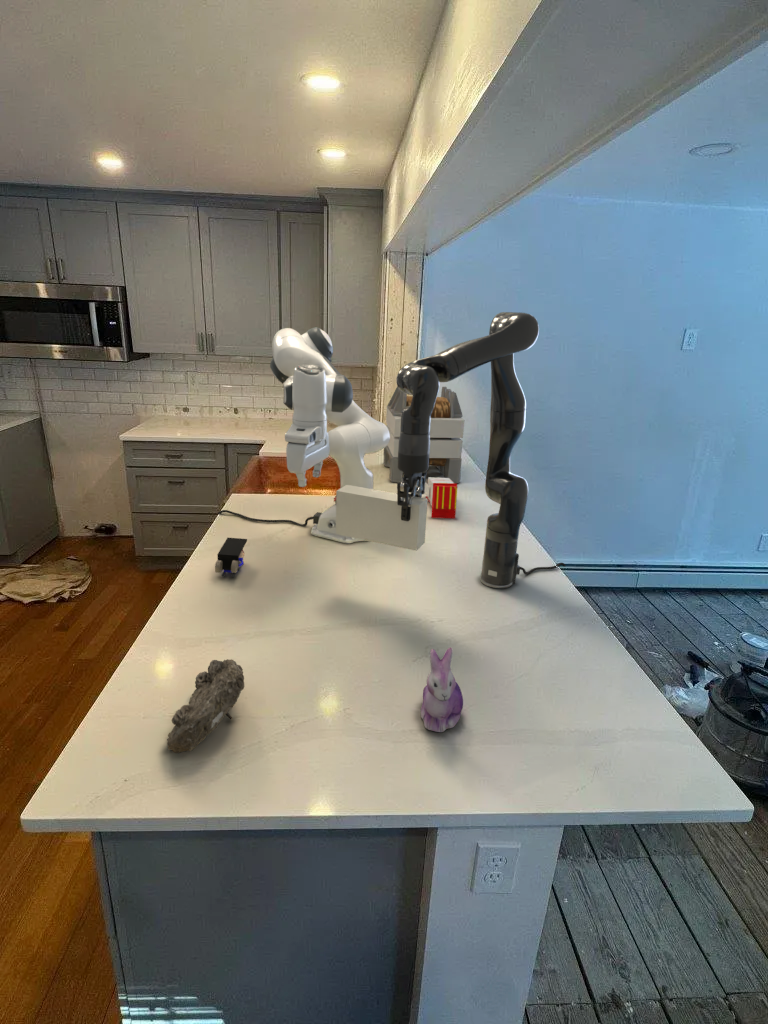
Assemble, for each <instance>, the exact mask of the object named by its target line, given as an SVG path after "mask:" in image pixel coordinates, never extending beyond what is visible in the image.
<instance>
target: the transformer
mask: <svg viewBox="0 0 768 1024" xmlns="http://www.w3.org/2000/svg"><path fill="white" fill-rule="evenodd" d="M440 393H441V394H440V396H437V398H436V401H435V405H434V408H433V411H432V413H431V421H430V453H429V467H436V468H437V470H438V469H439V473H440V474H441V475H443V478H449V479H450V480H451V481H452V482H453V483H454V484H459V483H461V472H462V461H463V460H462V453H463V442H464V441H463V440H462V439H463V438H464V431H465V430H464V429H465V419H464V418H463V411H462V408H461V405H460V402H459V398H458V395H457V392H455V391H453V390H452V389H451V388H447V386H442V387H441V392H440ZM412 398H413V395H408V394H406V393H404V392H402V391H401V390H400V389H399V388H398V386H397V385H396V388H395V390H394V392H393V394H392V395H391V398H390V400H389V402H388V404H387V405H386V413H385V414H386V415H385V423H386V426H387V428H388V430H389V434H390V440H389V443H388V445H387V446H386V447H385V448H383V466H384V467H388V468H389V475H388V476H389V477H388V478H389V480H390V482H391V483H398V482H400V483H402V478H403V475H404V473H403V472H402V471H400V470H399V469H398V446H399V436H400V425H401V413H402V410H403V408H405V407H407V406H410V405H411V402H412Z"/></svg>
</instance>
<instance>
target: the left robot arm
mask: <svg viewBox="0 0 768 1024" xmlns="http://www.w3.org/2000/svg"><path fill="white" fill-rule="evenodd" d="M271 354H272V358H271V360H270V364H269V367H270V370H271V373H272V375H273V376H274V378H275V380H277V381H278V382H279V383H281V385H283V405H285V406H286V407H287V408H288V409H289V410H291V411H293V413H292V423H291V425H290V427H289V428H288V430H287V431H286V432H285V434H284V441H285V442H286V443H287V445H286V448H285V449H286V451H285V452H286V454H285V455H286V457H285V458H286V467H287V470H288V472H289V473H291V474H295V476H296V478H297V483H298V484H297V485H298V487H300V488H305V487H306V486H307V485H308V479H307V478H306V474H307V471H308V470H310V469H311V468H313V470H312V477H313V478H319V477H321V475H322V468H323V464H324V460H326V459H327V458H329V457H331V458H332V459H333V460H334V462H335V463H336V465H337V468H338V471H339V478H340V480H339V481H340V484H339V485H340V488H342V487H344V486H346V485H351V486H357V487H362V488H368V489H374V473H373V471H372V470H371V469H369V468H368V467H366V465H365V460H364V458H365V456H368V455H372V454H376V453H378V452H380V451H382V450H384V448H385V447H386V446H387V445H388V443H389V440H390V434H389V430H388V428H387V424H385V423H384V422H383V421H379V420H377V419H375V418H374V417H372V416H371V415H369V414H368V413H367V412H366V411H364V410H363V408H361V407H360V406H359V405H358V404H357V403H356V402H355V401H354V391H353V387H352V383H351V381H350V380H349V379H348V377H347V376H346V375H344V374H341V373H340V371H339V370H338V369H337V368H336V367H335V365H333V364H332V357H333V354H334V346H333V342H332V339H331V336H329V334H328V333H327V332H326V331H325V330H323V329H321V328H320V327H317V326H315V327H311V328H309V329H307V331H306V332H304V333H303V334H301V333H300V332H298V331H297V330H296V329H294V328H291V327H283V328H281V329H279V330H278V331H277V332H276V333H275V335H274V337H273V339H272V343H271ZM328 423H330V424H332V425H335V426H336V427H334V428H331V429H330V430H329V431H328ZM340 488H339V489H340ZM333 502H334V504H333V505H331V506H329V507H328V508H326V509H325V510H323V512H319V511H318V512H316V513H315V514H313V515H312V516H309V517H307V518H306V519H305V521H304V523H303V524H302V523H299V522H297V521H294V520H291V519H261V518H253V517H249V516H246V515H244V514H241V513H238V512H234V511H231V510H228V509H222V510H219V511H218V512H217V515H221V514H223V513H227V514H231V515H234V516H237V517H240V518H242V519H245V520H248V521H253V522H261V523H290V524H293V525H296V526H300V527H306V526H308V521H310V520H312V524H314V525H313V526H312V528H311V530H310V533H311V536H315V537H319V538H323V539H326V540H330V541H336V542H339V543H343V544H352V543H357V542H365V541H366V540H363V539H358V538H353V537H348V536H343V535H339V534H336V495H335V496H334V497H333Z"/></svg>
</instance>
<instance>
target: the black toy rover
mask: <svg viewBox="0 0 768 1024" xmlns="http://www.w3.org/2000/svg"><path fill="white" fill-rule="evenodd" d="M247 542H248V538H240V537H226V539H225V541H224V543H223V544H222V546H221V547H220V549H219V551H218V552H217V560H216V562H215V564H214V572H215V573H221V577H222V578H224V577H225V576H226V574H227V573H230V574H231V573H232V574H231V578H234V577H235V575H236V573H237V572H239V571H240V567H242V566H243V565H244V564H245V562H244V558H245V551H244V547H245V546H246V544H247Z"/></svg>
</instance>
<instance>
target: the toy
mask: <svg viewBox="0 0 768 1024" xmlns="http://www.w3.org/2000/svg"><path fill="white" fill-rule="evenodd" d="M424 494H425V498H426V499H428V500H427V502H428V503H429V504H430V506H431V517H430V518H432V519H456V514H457V513H456V512H457V498H458V483H453V482H452V481H451V480H450V479H449V478H444V477H431V476H430V477H429V476H428V477H427V482H426V481H425V490H424Z"/></svg>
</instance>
